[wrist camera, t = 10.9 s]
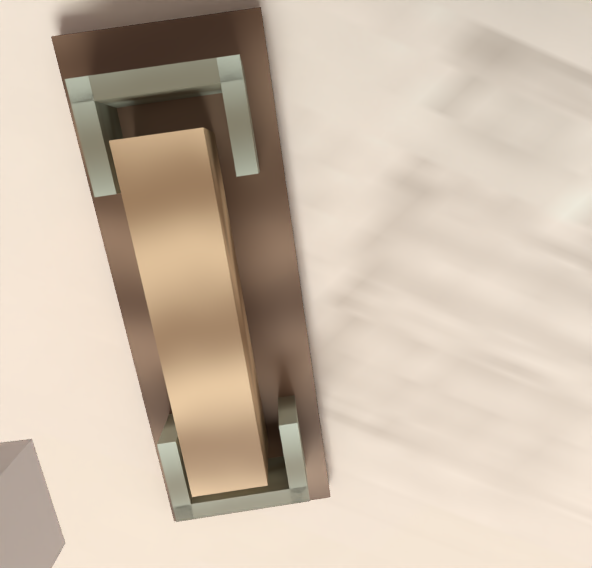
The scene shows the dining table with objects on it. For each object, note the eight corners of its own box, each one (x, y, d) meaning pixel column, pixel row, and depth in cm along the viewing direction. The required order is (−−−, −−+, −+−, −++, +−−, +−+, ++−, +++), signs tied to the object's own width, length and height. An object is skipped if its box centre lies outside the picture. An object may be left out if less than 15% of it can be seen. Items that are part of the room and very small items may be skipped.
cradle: (60, 41, 23) (17, 17, 19) (261, 13, 23) (259, -16, 19) (177, 509, 30) (163, 560, 26) (328, 486, 30) (336, 533, 27)
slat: (135, 143, 23) (109, 140, 20) (214, 132, 23) (203, 127, 20) (202, 450, 28) (192, 496, 24) (268, 440, 28) (267, 485, 24)
